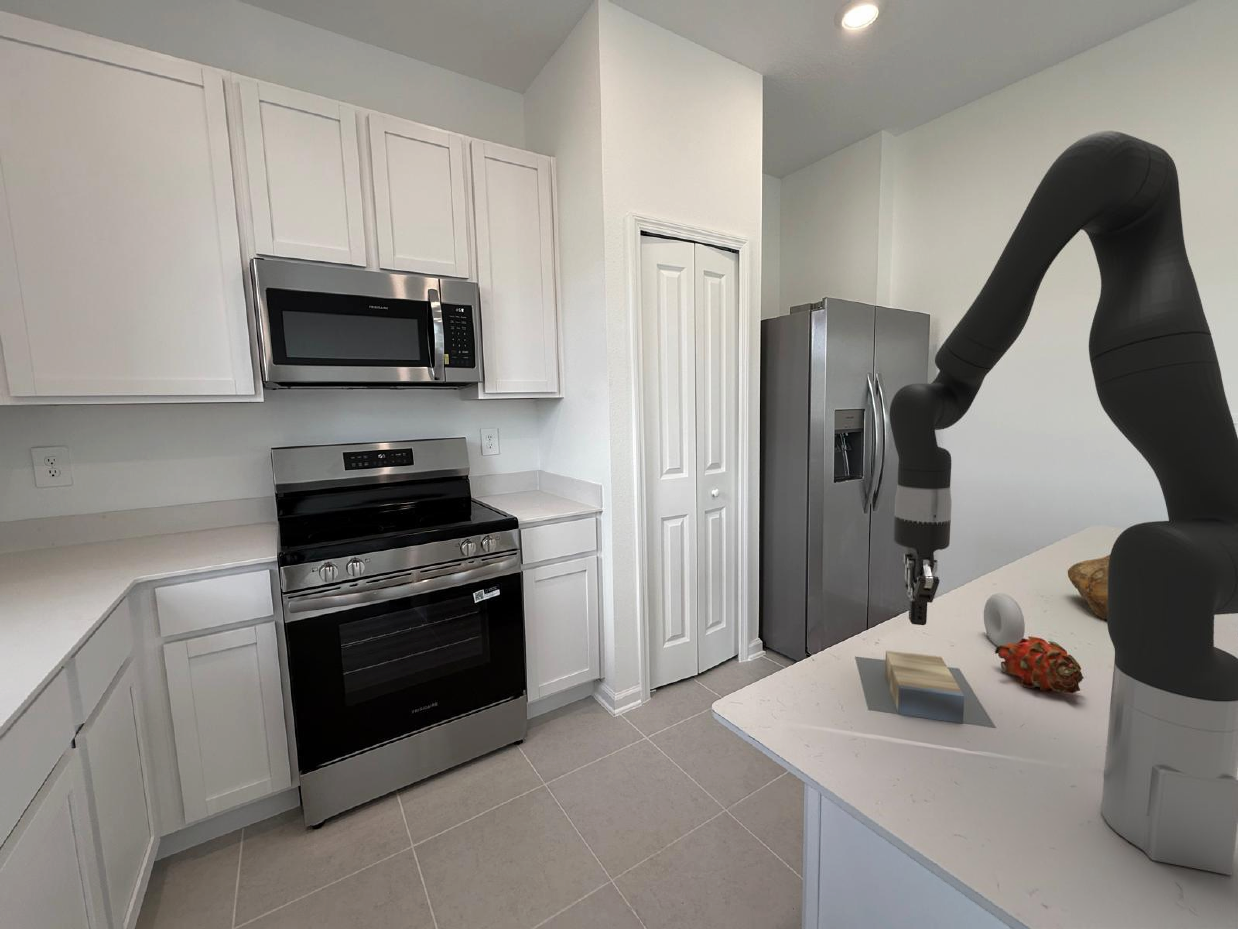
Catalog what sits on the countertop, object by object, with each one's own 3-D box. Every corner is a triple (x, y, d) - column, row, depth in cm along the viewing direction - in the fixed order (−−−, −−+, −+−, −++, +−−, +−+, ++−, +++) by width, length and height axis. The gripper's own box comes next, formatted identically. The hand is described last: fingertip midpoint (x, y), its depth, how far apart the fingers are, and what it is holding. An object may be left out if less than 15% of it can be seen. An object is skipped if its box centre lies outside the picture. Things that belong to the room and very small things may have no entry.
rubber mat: (996, 732, 73) (996, 727, 73) (868, 713, 78) (868, 709, 78) (958, 671, 89) (958, 668, 89) (854, 659, 94) (854, 656, 94)
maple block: (939, 680, 85) (962, 723, 74) (884, 673, 88) (898, 714, 76) (941, 656, 85) (964, 696, 73) (885, 650, 87) (900, 688, 76)
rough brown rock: (1084, 591, 126) (1081, 529, 125) (1185, 606, 113) (1183, 536, 112) (1049, 618, 113) (1046, 549, 112) (1159, 639, 99) (1156, 560, 98)
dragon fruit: (1084, 720, 78) (997, 692, 89) (1106, 675, 81) (1019, 653, 92) (1059, 680, 76) (974, 657, 87) (1083, 636, 79) (997, 618, 90)
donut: (1027, 661, 92) (1031, 605, 91) (1004, 659, 93) (1008, 604, 92) (998, 636, 102) (1001, 585, 101) (978, 635, 102) (981, 584, 101)
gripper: (963, 525, 74) (957, 644, 76) (938, 507, 87) (933, 609, 89) (903, 523, 76) (898, 638, 78) (887, 505, 89) (883, 605, 91)
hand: (917, 622), depth 84 cm, fingers closed
